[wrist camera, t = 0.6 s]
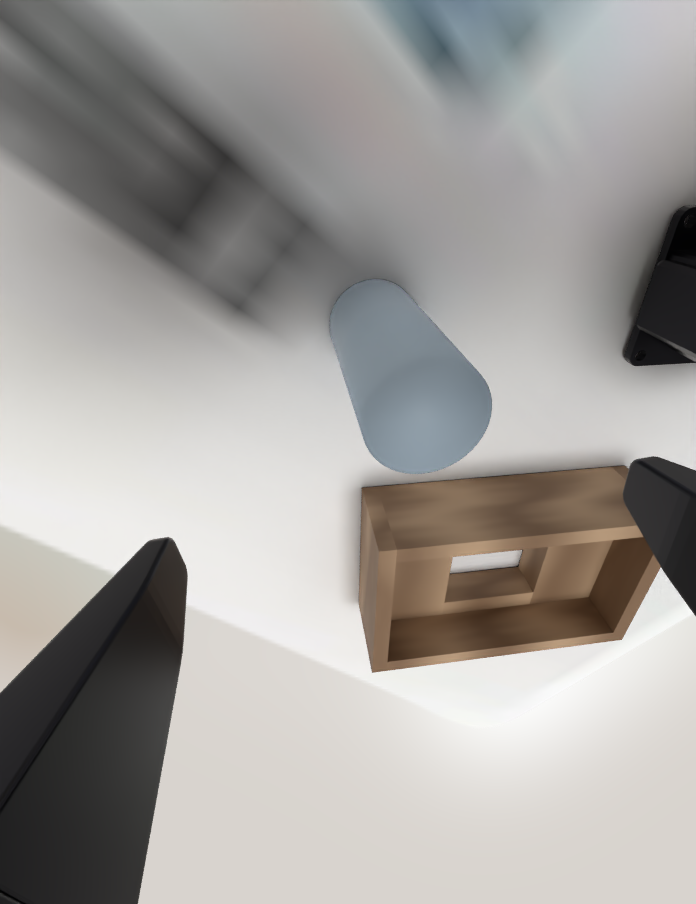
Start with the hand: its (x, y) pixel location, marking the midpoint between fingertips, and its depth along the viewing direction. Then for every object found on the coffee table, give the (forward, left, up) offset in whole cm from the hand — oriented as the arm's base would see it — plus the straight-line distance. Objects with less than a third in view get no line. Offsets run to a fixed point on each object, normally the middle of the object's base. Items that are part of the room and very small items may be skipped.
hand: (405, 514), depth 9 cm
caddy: (-9, +13, -12) cm, 20 cm away
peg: (-2, 0, -12) cm, 12 cm away
